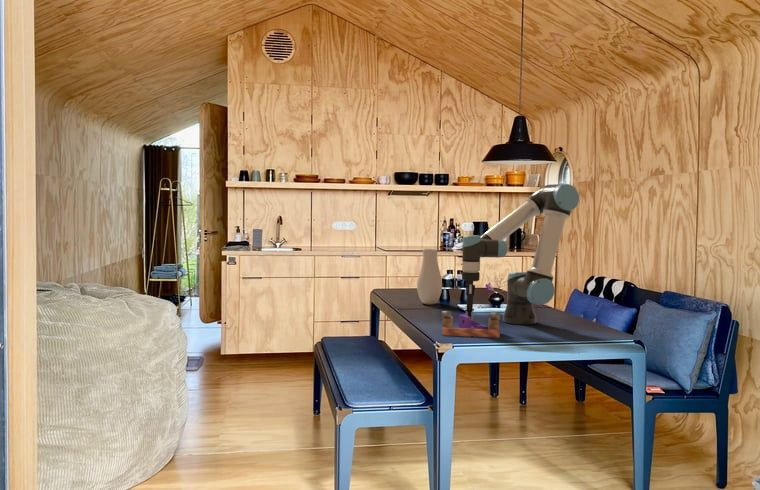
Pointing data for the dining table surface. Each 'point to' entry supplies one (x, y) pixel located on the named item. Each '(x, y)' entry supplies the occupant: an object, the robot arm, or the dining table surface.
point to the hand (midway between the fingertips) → (469, 326)
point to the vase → (429, 278)
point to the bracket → (469, 323)
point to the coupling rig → (490, 332)
